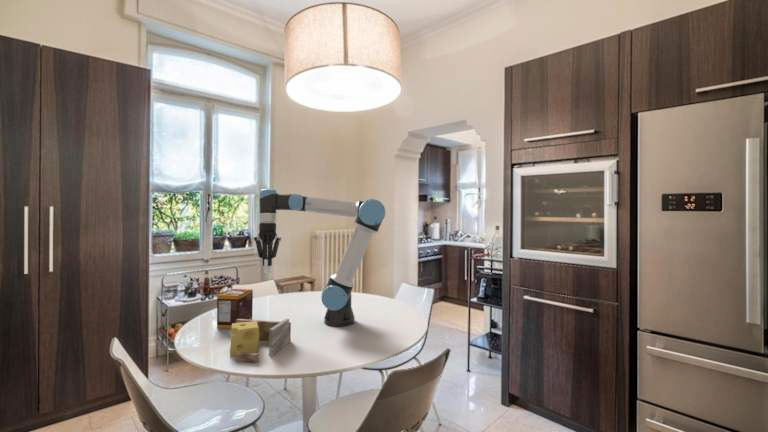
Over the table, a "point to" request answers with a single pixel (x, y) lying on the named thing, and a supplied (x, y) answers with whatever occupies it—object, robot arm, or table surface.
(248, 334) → the cheese
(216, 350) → the table surface
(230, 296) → the supplement box
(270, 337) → the shelf
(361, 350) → the table surface
